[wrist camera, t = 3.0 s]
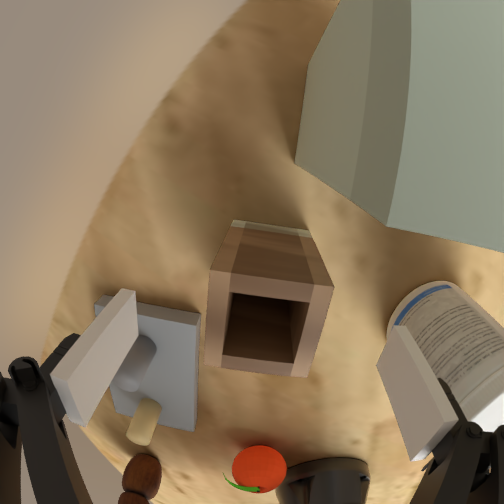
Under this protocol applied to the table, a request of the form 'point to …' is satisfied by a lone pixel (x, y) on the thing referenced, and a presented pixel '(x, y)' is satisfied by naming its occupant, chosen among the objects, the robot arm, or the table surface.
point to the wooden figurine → (140, 480)
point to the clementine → (258, 469)
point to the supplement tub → (458, 347)
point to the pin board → (158, 371)
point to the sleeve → (266, 300)
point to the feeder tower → (412, 115)
